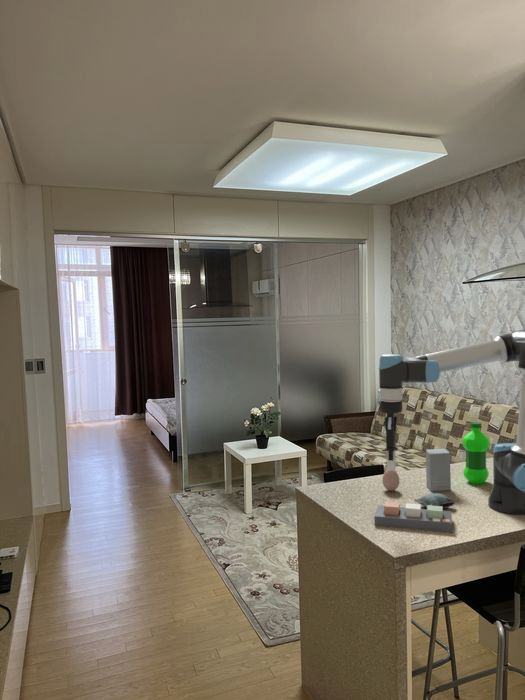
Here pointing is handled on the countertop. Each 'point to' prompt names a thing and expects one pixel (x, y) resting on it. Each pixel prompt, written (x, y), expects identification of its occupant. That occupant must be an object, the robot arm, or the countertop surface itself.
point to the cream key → (413, 510)
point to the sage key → (434, 512)
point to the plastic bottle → (476, 454)
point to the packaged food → (435, 500)
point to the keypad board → (414, 520)
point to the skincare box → (438, 470)
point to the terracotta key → (392, 508)
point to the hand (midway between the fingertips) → (391, 468)
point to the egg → (390, 480)
